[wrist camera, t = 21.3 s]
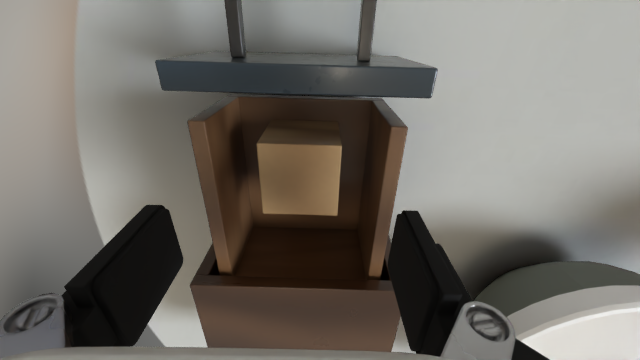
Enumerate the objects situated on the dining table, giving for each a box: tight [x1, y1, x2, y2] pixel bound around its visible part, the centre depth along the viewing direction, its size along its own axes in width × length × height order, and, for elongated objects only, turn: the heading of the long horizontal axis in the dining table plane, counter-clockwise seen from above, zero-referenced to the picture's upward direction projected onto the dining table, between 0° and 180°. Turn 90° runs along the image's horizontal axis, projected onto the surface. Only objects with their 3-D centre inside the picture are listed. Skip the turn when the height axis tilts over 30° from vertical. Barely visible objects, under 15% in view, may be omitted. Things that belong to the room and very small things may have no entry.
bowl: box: [474, 261, 640, 360], centre depth 24 cm, size 19×19×8 cm
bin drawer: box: [155, 0, 438, 280], centre depth 16 cm, size 19×11×7 cm, turn 179°
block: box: [256, 120, 342, 216], centre depth 17 cm, size 4×4×4 cm
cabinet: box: [190, 235, 401, 352], centre depth 23 cm, size 15×13×9 cm
